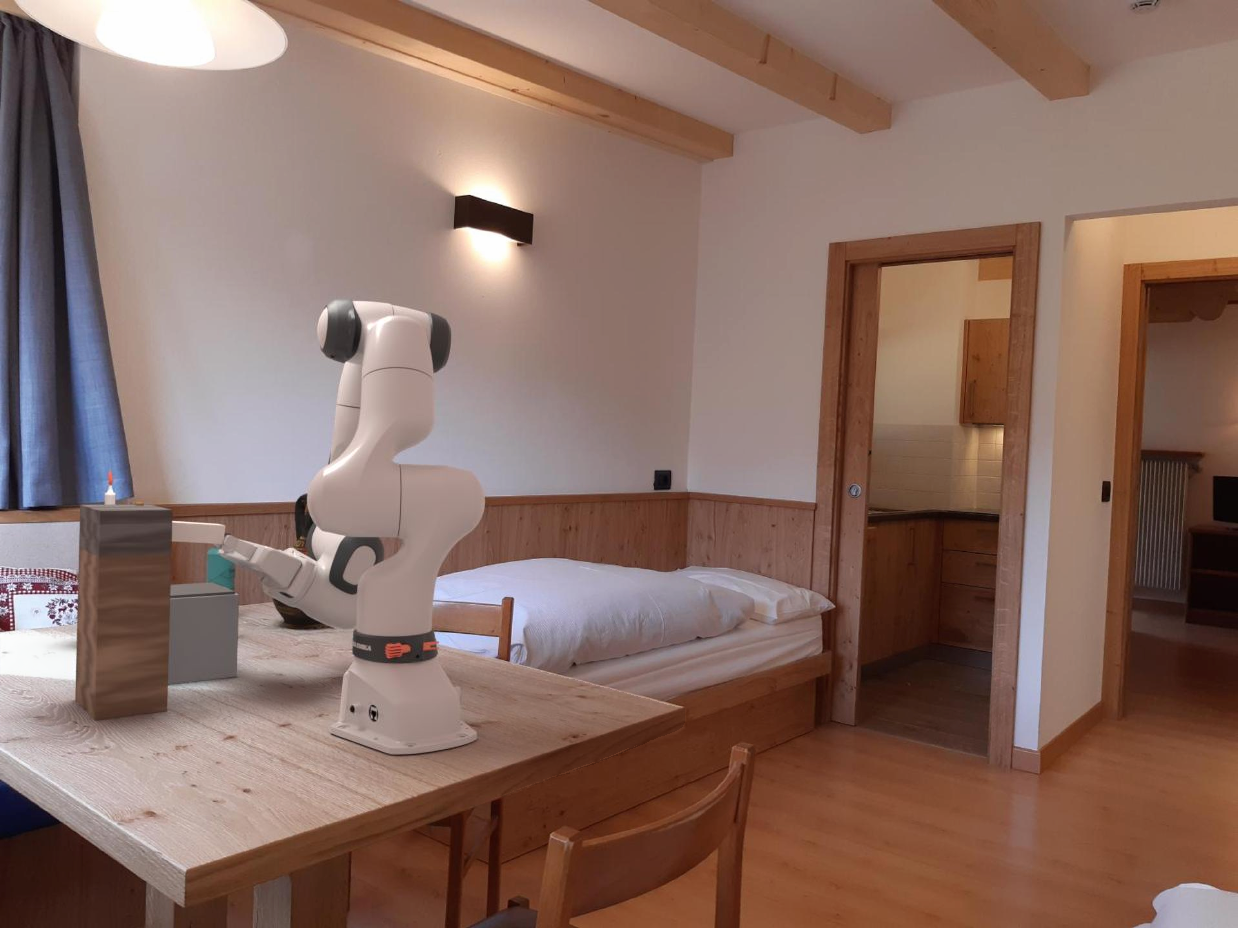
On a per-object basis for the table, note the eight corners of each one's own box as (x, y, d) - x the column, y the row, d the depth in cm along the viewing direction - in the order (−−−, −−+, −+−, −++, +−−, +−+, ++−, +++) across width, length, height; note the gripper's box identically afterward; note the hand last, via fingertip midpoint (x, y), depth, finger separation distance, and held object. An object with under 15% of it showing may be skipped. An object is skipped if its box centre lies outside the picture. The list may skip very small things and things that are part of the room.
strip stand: (167, 710, 152) (172, 507, 151) (94, 720, 145) (100, 508, 145) (143, 691, 162) (148, 501, 162) (75, 699, 156) (80, 502, 156)
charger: (223, 543, 161) (225, 525, 161) (113, 538, 151) (115, 518, 151) (216, 541, 164) (218, 523, 164) (107, 536, 154) (110, 516, 154)
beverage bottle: (202, 621, 225) (204, 534, 225) (206, 616, 232) (208, 531, 231) (232, 621, 227) (235, 534, 227) (235, 616, 233) (238, 531, 233)
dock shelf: (236, 676, 175) (239, 591, 175) (138, 687, 165) (141, 597, 165) (211, 661, 186) (214, 581, 186) (118, 671, 176) (120, 587, 175)
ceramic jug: (355, 626, 226) (359, 495, 225) (293, 634, 214) (297, 496, 214) (315, 616, 237) (318, 491, 237) (254, 623, 226) (258, 492, 225)
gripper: (274, 552, 179) (206, 515, 171) (319, 564, 163) (246, 524, 155) (255, 583, 177) (186, 547, 169) (299, 599, 161) (224, 559, 153)
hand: (215, 536), depth 162 cm, fingers open, 8 cm apart
